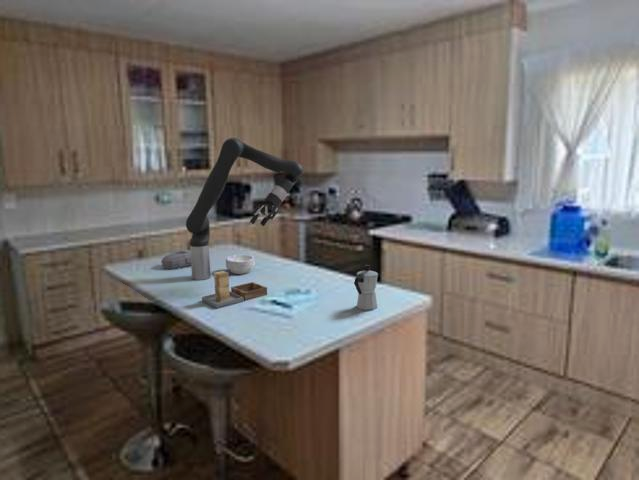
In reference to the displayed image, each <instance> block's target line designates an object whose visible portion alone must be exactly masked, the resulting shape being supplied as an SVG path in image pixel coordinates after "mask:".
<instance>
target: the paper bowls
mask: <svg viewBox="0 0 639 480" xmlns="http://www.w3.org/2000/svg"><path fill="white" fill-rule="evenodd" d="M255 265H256V264H255V257H254V256H253V255H250V254H249V255H248V254H234V255H229V256H227V257H226V258H225V268H226V269H228V270H230V273H232V274H235V275H243V274H248V273H250V272H251V270H252V269H253V268H254V267H255Z"/></svg>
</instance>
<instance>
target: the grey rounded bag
mask: <svg viewBox="0 0 639 480" xmlns="http://www.w3.org/2000/svg"><path fill="white" fill-rule="evenodd" d="M160 263H161V265H162V267H163V269H166V270H167V269H168V270H179V269H178V268H180V269H184V268H183V267H186V268H190V267H191V253H190V251H187V250H183V251H182V250H179V251H177V252H176V251H175V252H172V253H169V254H167V255H165V256H164V257H163V258H162V259H161V261H160ZM189 266H190V267H189Z"/></svg>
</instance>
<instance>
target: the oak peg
mask: <svg viewBox="0 0 639 480" xmlns="http://www.w3.org/2000/svg"><path fill="white" fill-rule="evenodd" d="M213 274H214V275H213V277H214V291H215V293H214V294H215V297H216V300H218V301H220V302H223V301H227V300H230V294H229V291H230V277H229V276H230V275H229V272H227V271H224V270H222V271H217V272H214V273H213Z"/></svg>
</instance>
